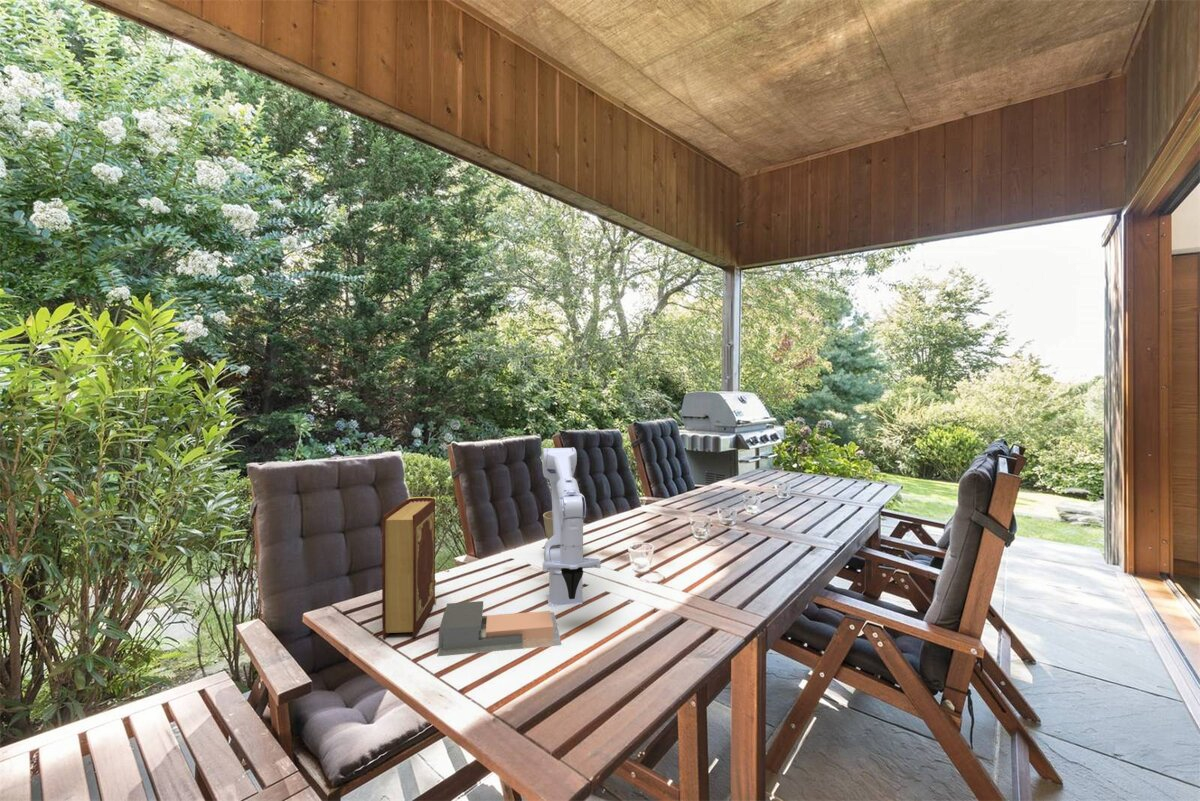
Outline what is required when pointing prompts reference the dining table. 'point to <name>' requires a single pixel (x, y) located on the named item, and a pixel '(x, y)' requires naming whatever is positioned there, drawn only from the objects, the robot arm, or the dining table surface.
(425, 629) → the dining table surface
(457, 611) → the dock
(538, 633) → the peach rectangular panel
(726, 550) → the dining table surface
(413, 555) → the decorative book
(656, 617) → the dining table surface
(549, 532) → the plant pot
